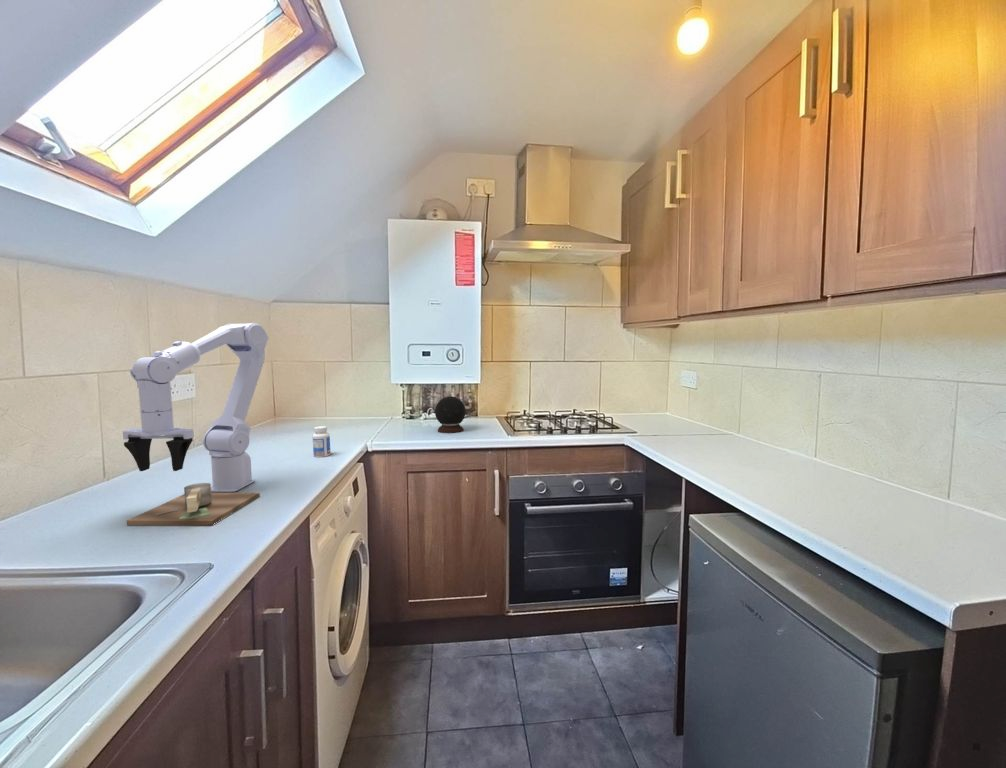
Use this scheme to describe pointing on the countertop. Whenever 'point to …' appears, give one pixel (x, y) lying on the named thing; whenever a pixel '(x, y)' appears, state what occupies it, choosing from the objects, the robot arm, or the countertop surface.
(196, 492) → the beige elongated block piece
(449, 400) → the black ball on stand
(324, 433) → the pill bottle
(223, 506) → the base
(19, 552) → the countertop surface
